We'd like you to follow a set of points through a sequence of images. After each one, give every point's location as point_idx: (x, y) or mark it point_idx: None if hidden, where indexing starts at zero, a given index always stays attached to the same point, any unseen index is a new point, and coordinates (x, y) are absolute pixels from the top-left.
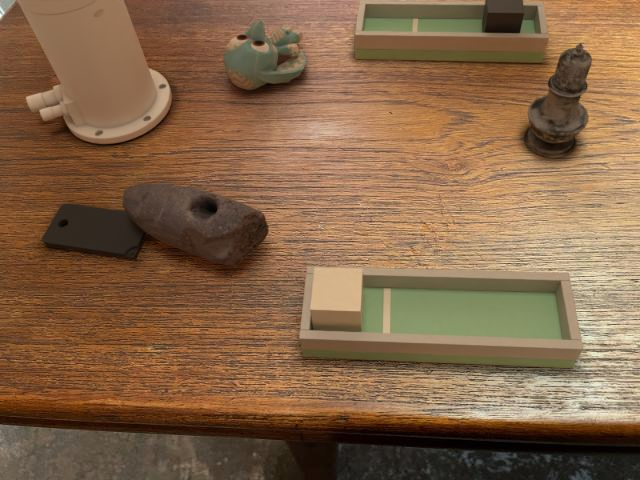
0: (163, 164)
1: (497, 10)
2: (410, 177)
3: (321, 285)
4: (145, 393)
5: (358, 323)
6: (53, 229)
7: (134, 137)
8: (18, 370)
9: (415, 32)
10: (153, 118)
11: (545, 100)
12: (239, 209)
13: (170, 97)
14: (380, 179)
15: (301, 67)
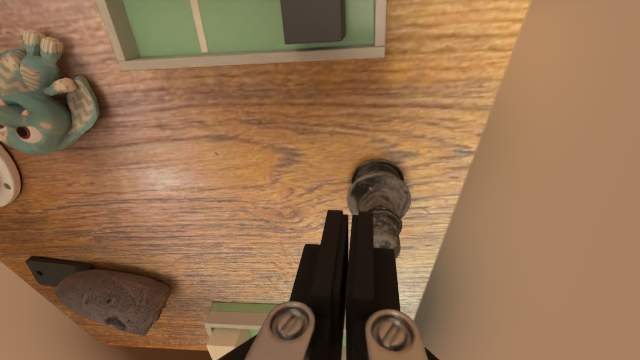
0: (60, 219)
1: (299, 37)
2: (254, 226)
3: (214, 354)
4: (160, 344)
5: None
6: (38, 277)
7: (16, 197)
8: (95, 335)
9: (196, 60)
10: (12, 185)
11: (361, 208)
12: (138, 327)
13: (2, 154)
14: (231, 228)
15: (93, 113)
